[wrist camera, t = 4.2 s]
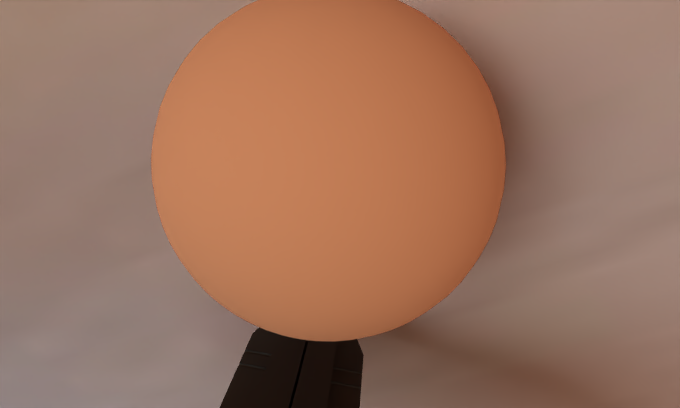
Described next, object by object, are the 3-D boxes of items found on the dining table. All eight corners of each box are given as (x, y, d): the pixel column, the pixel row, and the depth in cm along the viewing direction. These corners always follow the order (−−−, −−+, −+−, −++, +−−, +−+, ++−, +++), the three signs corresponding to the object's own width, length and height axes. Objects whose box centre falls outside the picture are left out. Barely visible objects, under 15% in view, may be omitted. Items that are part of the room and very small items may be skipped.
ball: (234, 218, 11) (91, 392, 6) (231, -14, 9) (-21, -85, 3) (439, 249, 11) (488, 464, 6) (496, 15, 8) (690, -11, 3)
